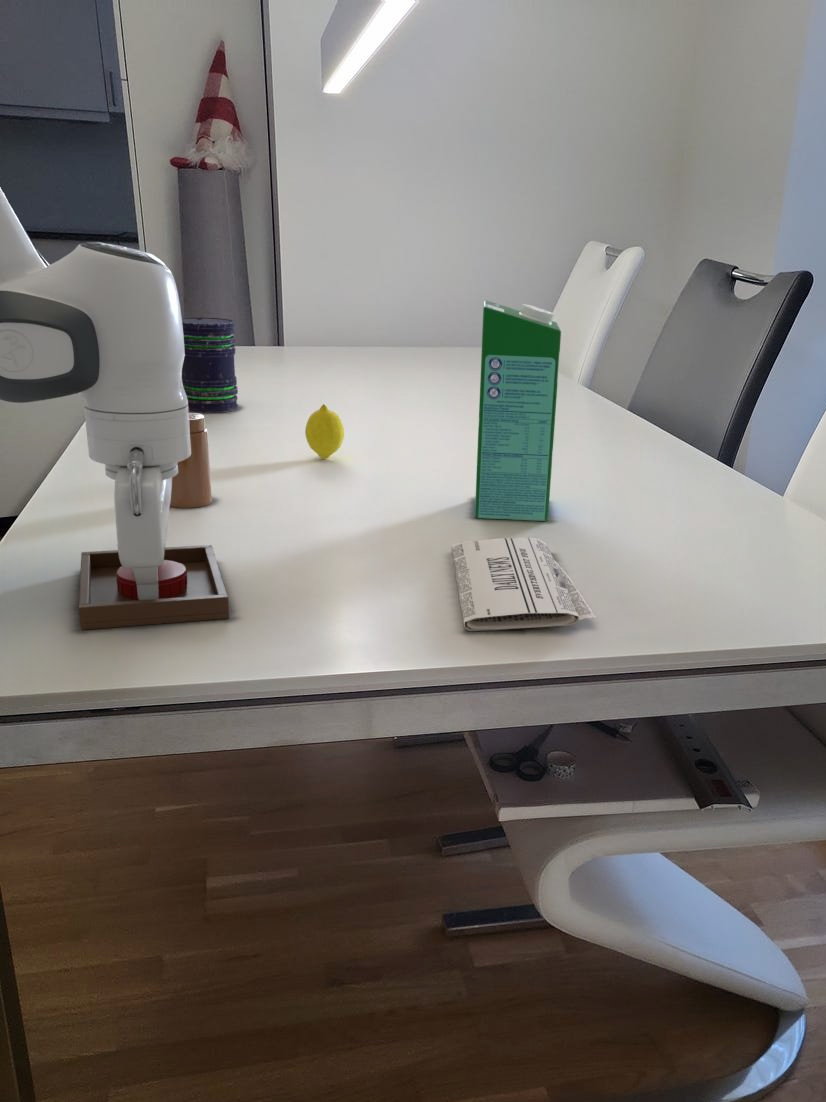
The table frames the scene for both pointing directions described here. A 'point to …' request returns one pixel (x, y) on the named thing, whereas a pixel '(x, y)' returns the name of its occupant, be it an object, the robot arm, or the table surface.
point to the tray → (115, 610)
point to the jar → (193, 469)
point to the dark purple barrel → (209, 365)
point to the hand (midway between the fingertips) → (151, 582)
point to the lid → (169, 580)
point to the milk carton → (516, 412)
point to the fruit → (324, 432)
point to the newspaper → (514, 586)
